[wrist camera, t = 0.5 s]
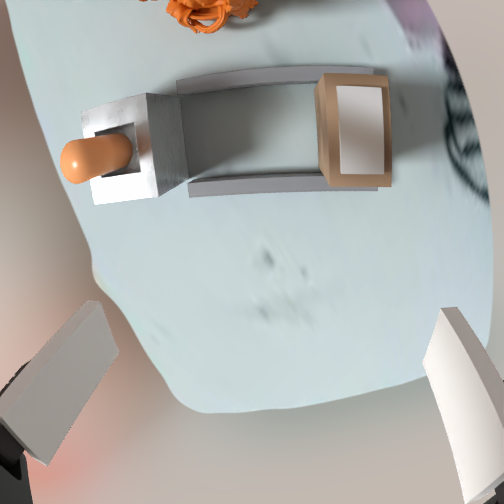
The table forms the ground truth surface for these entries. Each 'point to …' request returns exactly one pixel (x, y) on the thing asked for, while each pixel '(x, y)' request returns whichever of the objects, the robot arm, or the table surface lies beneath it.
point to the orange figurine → (207, 12)
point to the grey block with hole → (140, 146)
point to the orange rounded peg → (95, 156)
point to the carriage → (354, 129)
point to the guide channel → (270, 181)
